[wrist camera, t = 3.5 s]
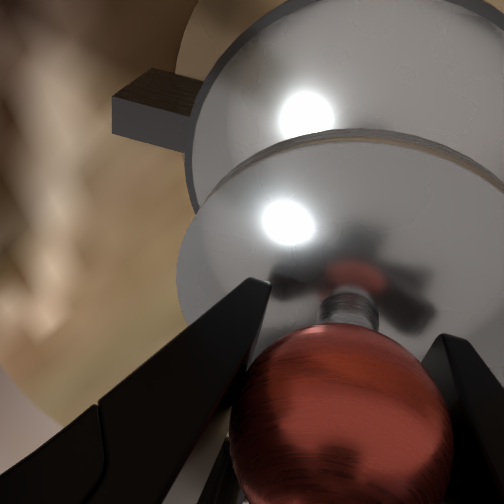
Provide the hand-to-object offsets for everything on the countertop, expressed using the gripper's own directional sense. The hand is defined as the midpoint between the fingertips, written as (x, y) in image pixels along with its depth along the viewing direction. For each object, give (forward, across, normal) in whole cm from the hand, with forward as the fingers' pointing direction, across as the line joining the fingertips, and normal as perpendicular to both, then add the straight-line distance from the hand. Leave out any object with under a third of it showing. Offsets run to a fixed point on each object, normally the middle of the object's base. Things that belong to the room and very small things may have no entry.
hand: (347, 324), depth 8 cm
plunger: (+1, 0, 0) cm, 1 cm away
